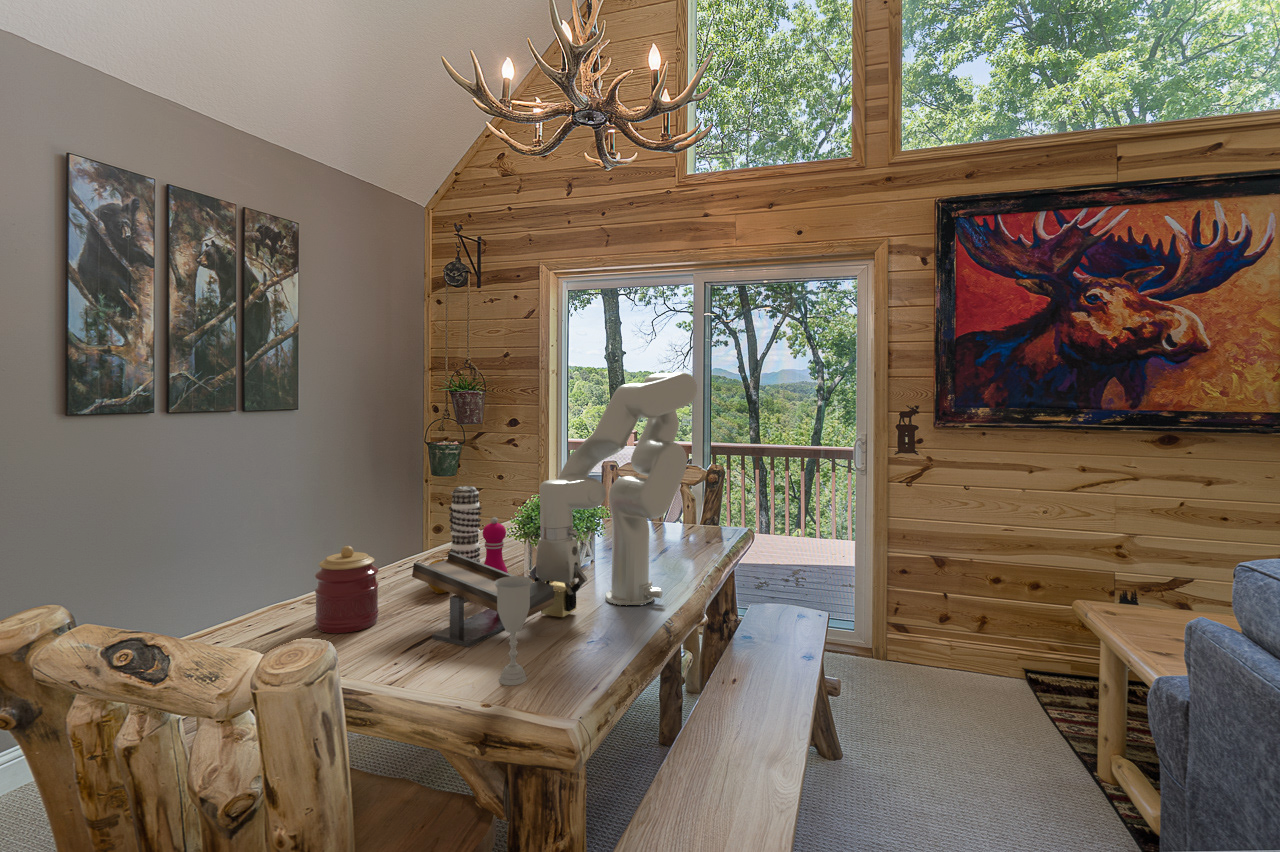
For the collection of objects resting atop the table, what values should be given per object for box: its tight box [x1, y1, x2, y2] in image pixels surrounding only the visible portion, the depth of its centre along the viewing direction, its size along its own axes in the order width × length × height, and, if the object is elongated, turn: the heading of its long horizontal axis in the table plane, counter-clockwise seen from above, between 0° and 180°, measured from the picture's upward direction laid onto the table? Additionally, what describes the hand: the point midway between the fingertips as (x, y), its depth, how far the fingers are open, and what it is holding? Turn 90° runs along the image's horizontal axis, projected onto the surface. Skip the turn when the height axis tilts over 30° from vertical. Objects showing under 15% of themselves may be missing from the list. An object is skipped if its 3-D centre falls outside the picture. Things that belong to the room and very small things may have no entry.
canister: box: [314, 545, 380, 634], centre depth 143 cm, size 13×13×18 cm
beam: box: [411, 551, 555, 619], centre depth 141 cm, size 30×13×6 cm, turn 65°
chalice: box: [495, 575, 534, 686], centre depth 116 cm, size 7×7×18 cm
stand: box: [431, 594, 505, 648], centre depth 142 cm, size 10×20×9 cm, turn 154°
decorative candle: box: [448, 485, 483, 563], centre depth 187 cm, size 9×9×25 cm
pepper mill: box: [482, 517, 509, 573], centre depth 167 cm, size 7×7×20 cm
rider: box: [540, 581, 577, 618], centre depth 151 cm, size 6×6×6 cm
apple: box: [427, 558, 449, 595], centre depth 167 cm, size 9×9×9 cm
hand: (558, 606), depth 151 cm, fingers closed on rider, 6 cm apart
